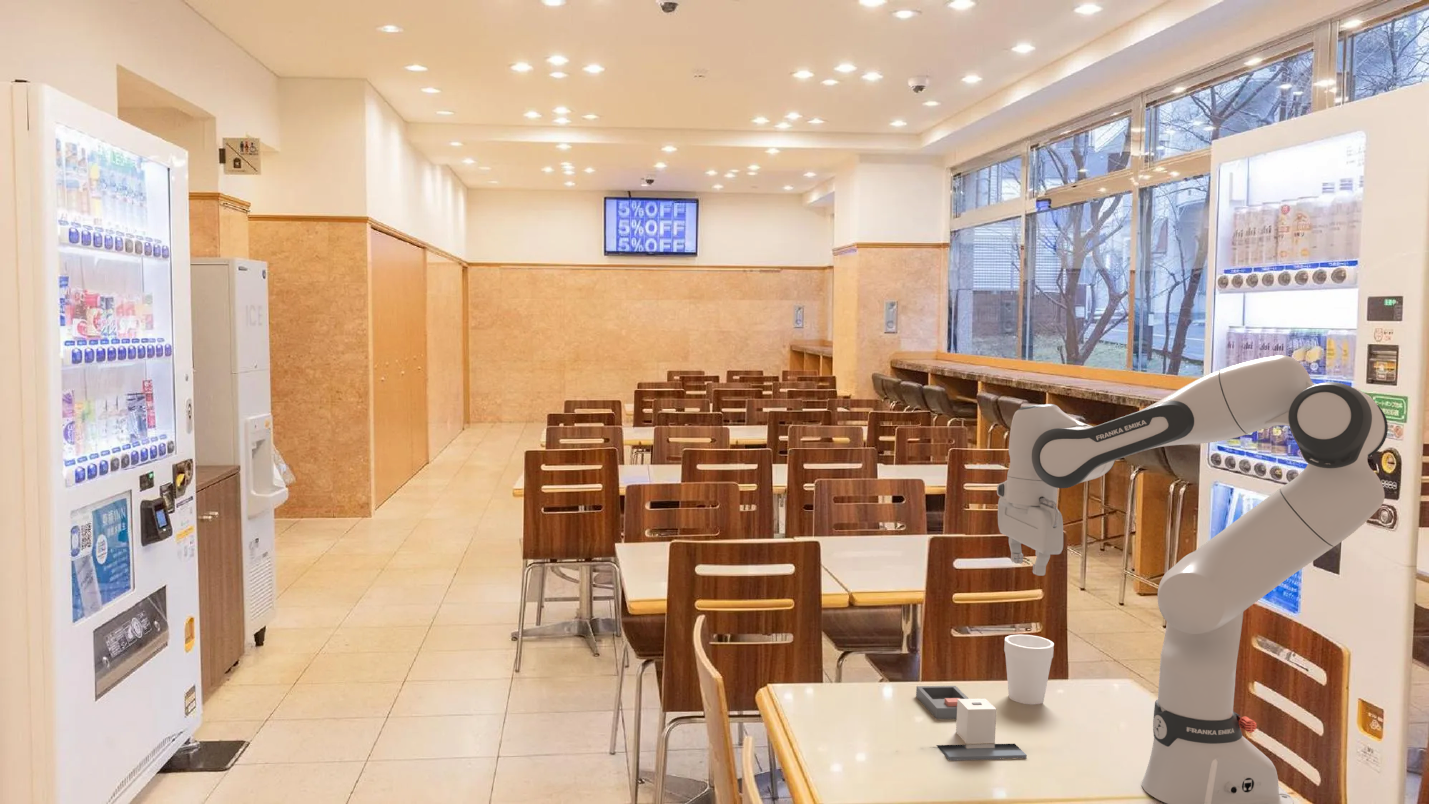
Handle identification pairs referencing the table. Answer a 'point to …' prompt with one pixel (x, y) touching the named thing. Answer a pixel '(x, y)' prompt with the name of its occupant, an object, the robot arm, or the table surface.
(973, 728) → the block
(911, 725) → the table surface
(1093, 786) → the table surface
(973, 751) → the rubber mat
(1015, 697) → the foam cup
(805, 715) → the table surface
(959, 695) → the power strip
